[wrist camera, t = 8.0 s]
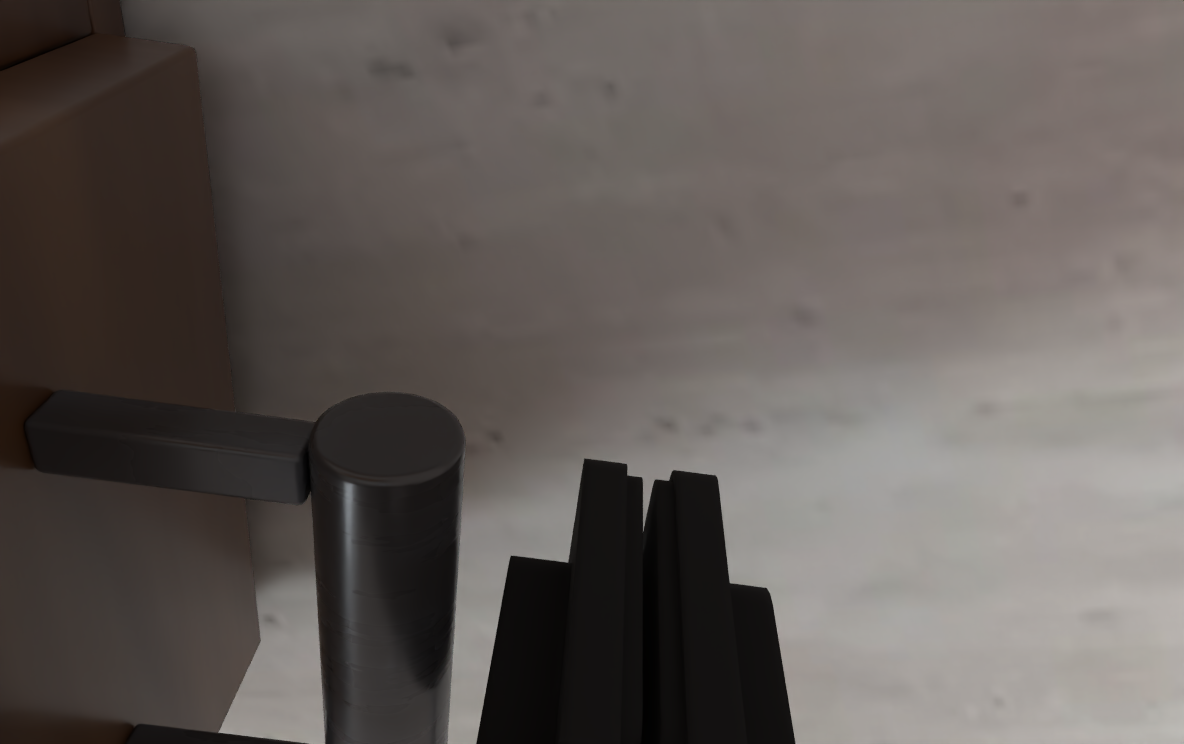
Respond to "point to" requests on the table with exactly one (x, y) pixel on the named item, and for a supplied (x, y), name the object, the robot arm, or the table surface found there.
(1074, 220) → the table surface
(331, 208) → the table surface
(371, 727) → the drawer
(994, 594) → the table surface
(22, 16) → the cabinet
